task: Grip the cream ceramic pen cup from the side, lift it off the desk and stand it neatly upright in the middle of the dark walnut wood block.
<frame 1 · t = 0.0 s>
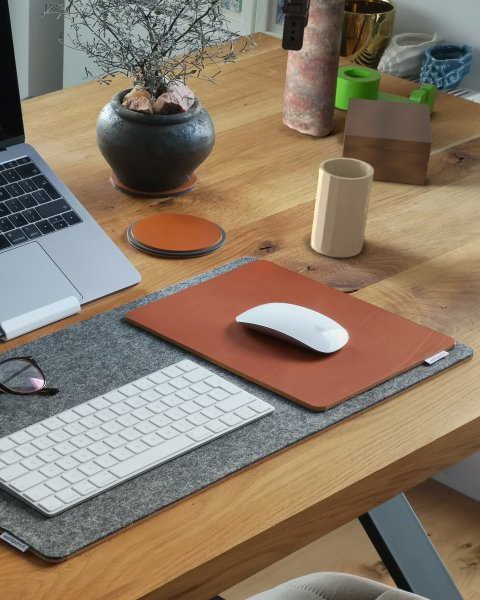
hand: (294, 37, 124), 24 cm above the table, tool pointing down, fingers open, 8 cm apart
pen cup: (336, 245, 132), on the table
candle: (305, 129, 163), on the table
tape dispenser: (376, 109, 170), on the table
dark walnut wood block: (382, 160, 153), on the table
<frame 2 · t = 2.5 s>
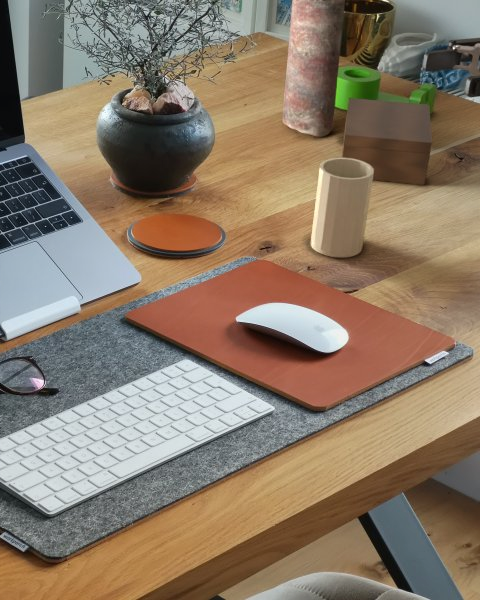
hand: (445, 74, 124), 20 cm above the table, tool horizontal, fingers open, 8 cm apart
nothing on the table moved.
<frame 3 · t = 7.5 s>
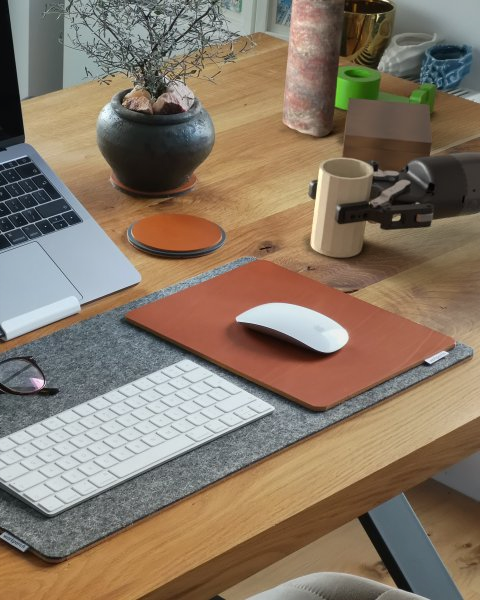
hand: (323, 202, 128), 6 cm above the table, tool horizontal, fingers closed on pen cup, 6 cm apart
pen cup: (336, 245, 132), on the table, touching gripper
everything else where it was.
when the fingers open (12 cm above the table, at t = 16.3 s): pen cup stays where it is, resting on dark walnut wood block.
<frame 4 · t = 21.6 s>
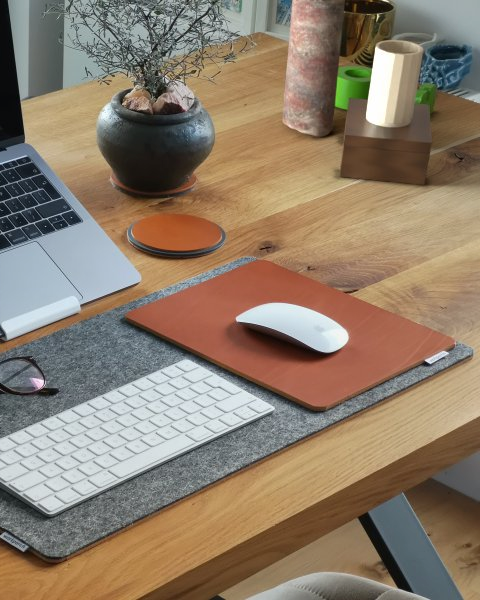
pen cup: (388, 119, 150), point 6 cm above the table, touching dark walnut wood block
everything else where it was.
at the end: pen cup inside the target area on the dark walnut wood block (0.1 cm from its centre), point 6.0 cm above the dark walnut wood block's base; pen cup tilted 0°; the gripper is holding nothing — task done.
